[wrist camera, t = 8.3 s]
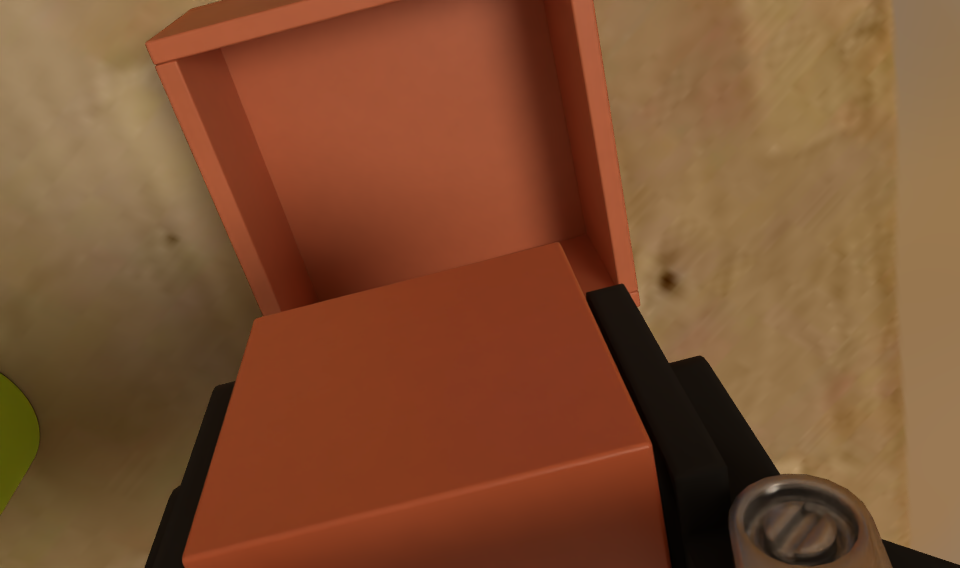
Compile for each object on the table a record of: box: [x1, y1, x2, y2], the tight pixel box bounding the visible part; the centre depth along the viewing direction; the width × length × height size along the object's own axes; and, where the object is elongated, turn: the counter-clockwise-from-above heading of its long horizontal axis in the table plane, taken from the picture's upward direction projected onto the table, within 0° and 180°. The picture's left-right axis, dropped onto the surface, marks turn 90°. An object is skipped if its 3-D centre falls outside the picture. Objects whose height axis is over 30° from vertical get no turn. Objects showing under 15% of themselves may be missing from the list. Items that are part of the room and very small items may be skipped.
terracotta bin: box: [145, 0, 640, 316], centre depth 21 cm, size 10×10×4 cm
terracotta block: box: [182, 242, 672, 568], centre depth 10 cm, size 4×4×4 cm
